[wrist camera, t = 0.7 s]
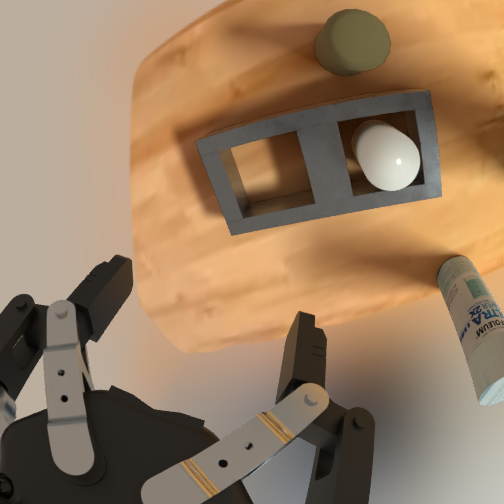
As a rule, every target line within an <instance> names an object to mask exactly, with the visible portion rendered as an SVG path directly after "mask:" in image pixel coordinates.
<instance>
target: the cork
mask: <svg viewBox="0 0 504 504" xmlns="http://www.w3.org/2000/svg"><path fill="white" fill-rule="evenodd" d="M390 46H391V41H390V36H389V33H388V31H387V29H386V27H385V25H384V24H383V23H382V22H381V21H380V20H379V19H378V18H377V17H375V16H374V15H372V14H370V13H368V12H366V11H362V10H358V9H345V10H342V11H339V12H337V13H335V14H334V15H332V16H331V17H330V18H329V19H328V20H327V22H326V24H325V26H324V28H323V29H322V30H321V31H320V32H319V33H318V35H317V37H316V39H315V43H314V51H315V56H316V58H317V59H318V61H319V63H320V64H321V65H322V66H323V67H324V68H325V69H326V70H328V71H330V72H331V73H333V74H336V75H341V76H352V75H355V74H358V73H360V72H361V71H369V70H372V69H374V68H377V67H378V66H380V65H381V64H382V63H383V62H385V60H386V58H387V56H388V55H389V52H390Z"/></svg>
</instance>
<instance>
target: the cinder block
mask: <svg viewBox="0 0 504 504" xmlns="http://www.w3.org/2000/svg"><path fill="white" fill-rule="evenodd" d="M400 111H404V112H405V117H406V123H407V129H408V135H409V138H410V139H411V140H412V141H413V143H414V144H415V145H416V147H417V149H418V152H419V156H420V167H419V171H418V173H417V175H416V177H415V179H414V180H413V181H412V182H411V183H410V184H409V185H408V186H406V187H404V188H402V189H400V190H396V191H386V190H382V189H380V188H377V187H376V186H374V185H373V184H372V183H371V182H370V181H369V180H363V181H358V182H352V183H351V182H350V177H349V173H348V168H347V163H346V158H345V154H344V149H343V145H342V141H341V137H340V132H339V128H338V124H337V122H339V121H344V120H350V119H355V118H361V117H367V116H373V115H379V114H386V113H393V112H400ZM292 131H296V132H297V136H298V139H299V143H300V146H301V150H302V153H303V157H304V161H305V164H306V168H307V172H308V176H309V179H310V183H311V187H312V190H311V191H306V192H302V193H297V194H292V195H287V196H283V197H278V198H273V199H269V200H264V201H260V202H255V203H251V204H249V201H248V198H247V195H246V192H245V189H244V186H243V183H242V181H241V178H240V175H239V172H238V169H237V166H236V163H235V161H234V158H233V155H232V152H231V149H230V148H232V147H235V146H239V145H242V144H246V143H249V142H253V141H257V140H260V139H264V138H268V137H272V136H276V135H280V134H284V133H288V132H292ZM195 142H196V145H197V147H198V150H199V153H200V155H201V158H202V161H203V163H204V166H205V168H206V171H207V174H208V176H209V179H210V181H211V184H212V187H213V189H214V192H215V194H216V197H217V200H218V202H219V205H220V207H221V210H222V213H223V215H224V218H225V220H226V223H227V225H228V228H229V231H230V233H231V236H233V235H238V234H243V233H248V232H253V231H258V230H263V229H268V228H273V227H278V226H283V225H288V224H293V223H299V222H304V221H309V220H314V219H320V218H325V217H330V216H336V215H341V214H346V213H352V212H357V211H363V210H368V209H374V208H379V207H385V206H391V205H396V204H402V203H408V202H414V201H419V200H425V199H431V198H437V197H442V186H441V171H440V159H439V149H438V141H437V133H436V126H435V119H434V113H433V107H432V101H431V96H430V91H429V90H424V89H419V88H411V89H402V90H394V91H386V92H379V93H372V94H366V95H360V96H354V97H348V98H343V99H337V100H332V101H327V102H322V103H318V104H313V105H308V106H304V107H300V108H295V109H291V110H287V111H283V112H279V113H275V114H271V115H268V116H264V117H260V118H257V119H253V120H250V121H246V122H243V123H239V124H236V125H233V126H229V127H226V128H223V129H220V130H217V131H214V132H211V133H208V134H206V135H204V136H203V137H201V138H200V139H198V140H197V141H195Z"/></svg>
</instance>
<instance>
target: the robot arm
mask: <svg viewBox="0 0 504 504" xmlns="http://www.w3.org/2000/svg"><path fill="white" fill-rule="evenodd" d="M132 287H133V272H132V260H131V259H129V258H126V257H123V256H120V255H115V256H114V257H113V258H112V259H111V260H110V261H109V263H108V262H103V263H101V264H99V265H97V266H96V267H95V268H94V269H93V270H92V271H91V272H90V274H89V275H87V277H86V278H85V280H83V281H82V282H81V283H80V284H79V286H78V287H77V288H76V289H75V290H74V291H73V293H72V294H71V295H70V296H69V297H68V298H67V299H66V300H59V301H56V302H54V303H53V304H51V305H50V306H45V305H38V304H35V303H34V300H33V298H32V297H31V296H30V295H28V294H20V295H18V296H16V297H14V298H13V299H12V300H11V301H10V303H9V304H8V305H7V306H6V307H5V309H4V310H3V311H2V313H1V314H0V504H253V502H252V500H251V498H250V496H249V494H248V493H247V490H246V488H245V486H244V484H243V483H242V481H243V480H244V479H245V478H247V477H248V476H250V475H251V474H252V473H254V472H255V471H256V470H258V469H259V468H260V467H262V466H263V465H264V464H265V463H266V462H268V461H269V460H270V459H271V458H273V457H274V456H275V455H276V454H278V453H279V452H280V451H281V450H283V449H284V448H285V447H286V446H288V445H289V444H290V443H291V442H292V441H293V440H295V439H296V438H297V437H300V438H302V439H303V440H306V441H307V442H309V443H311V444H313V445H315V446H317V447H316V452H315V458H314V463H313V469H312V474H311V479H310V484H309V488H308V493H307V498H306V503H305V504H368V501H369V494H370V485H371V475H372V463H373V450H374V433H375V432H374V431H375V421H374V418H373V416H372V415H371V414H370V412H369V411H367V410H366V409H364V408H360V407H355V408H352V409H350V410H347V409H345V408H343V407H341V406H339V405H338V404H336V403H334V402H333V401H332V400H331V399H330V398H329V397H328V394H327V392H326V391H325V370H326V346H327V338H326V336H325V334H324V331H323V330H322V329H320V328H316V327H315V315H312V314H308V313H305V312H301V311H299V312H298V313H297V315H296V317H295V320H294V322H293V324H292V326H291V328H290V330H289V333H288V335H287V339H286V342H285V348H284V354H283V361H282V367H281V373H280V379H279V384H278V390H277V396H276V402H275V406H274V407H273V408H271V409H270V410H269V411H267V412H265V413H264V412H262V413H260V414H258V415H257V416H255V417H254V418H253V419H251V420H250V421H248V422H247V423H245V424H244V425H242V426H241V427H239V428H238V429H236V430H235V431H233V432H232V433H230V434H229V435H227V436H226V437H224V438H223V439H221V440H220V439H219V438H218V437H217V436H216V435H215V434H214V433H213V432H211V431H210V430H208V429H207V428H206V427H204V422H205V421H204V420H201V419H198V418H195V417H191V416H189V415H186V414H183V413H178V412H169V411H161V410H155V409H153V408H151V407H150V406H148V405H147V404H145V403H144V402H142V401H141V400H140V399H138V398H137V397H135V396H134V395H133V394H130V393H128V392H126V391H123V390H121V389H119V388H116V387H115V386H111V387H110V389H109V391H107V390H95V389H94V386H93V383H92V378H91V374H90V367H89V361H88V353H87V346H86V343H87V342H88V340H89V339H90V340H92V341H95V342H97V341H98V340H99V339H100V337H101V336H102V334H103V333H104V331H105V330H106V328H107V327H108V325H109V324H110V322H111V321H112V319H113V318H114V316H115V315H116V314H117V312H118V311H119V309H120V308H121V306H122V305H123V303H124V302H125V301H126V299H127V298H128V296H129V295H130V293H131V291H132ZM20 337H21V338H20ZM19 338H20V339H19ZM18 340H19V341H18ZM17 341H18V342H17ZM15 344H16V345H15ZM13 347H14V348H13ZM42 354H43V361H44V378H45V391H46V401H47V409H44V410H42V411H39V412H37V413H34V414H32V415H29V416H27V417H24V418H21V419H19V420H16V421H14V420H15V419H16V404H15V400H16V399H17V397H18V395H19V393H20V391H21V390H22V388H23V386H24V384H25V383H26V381H27V379H28V378H29V376H30V374H31V372H32V371H33V369H34V367H35V366H36V364H37V363H38V361H39V359H40V358H41V356H42Z"/></svg>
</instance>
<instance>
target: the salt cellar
mask: <svg viewBox="0 0 504 504" xmlns="http://www.w3.org/2000/svg"><path fill="white" fill-rule="evenodd" d="M352 150H353V153H354V155H355V157H356V159H357V160H358V162H359V164H360V166H361V168H362V170H363V172H364V174H365V175H366V177H367V179H368V180H369V181H370V182H371V183H372V184H373V185H374V186H376V187H377V188H380V189H382V190H386V191H396V190H400V189H402V188H404V187H406V186H408V185H409V184H410V183H411V182H412V181H413V180H414V179H415V177H416V175H417V173H418V171H419V167H420V156H419V152H418V149H417V147H416V145H415V144H414V143H413V141H412V140H411V139H410V138H408V137H407V136H406V135H404V134H403V133H401V132H400V131H398V130H397V129H395V128H394V127H393V126H391V125H390V124H388V123H386V122H384V121H381V120H369V121H366V122H364V123H362V124H361V125H360V126H359V127H358V128H357V129H356V130H355V132H354V134H353V137H352Z"/></svg>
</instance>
